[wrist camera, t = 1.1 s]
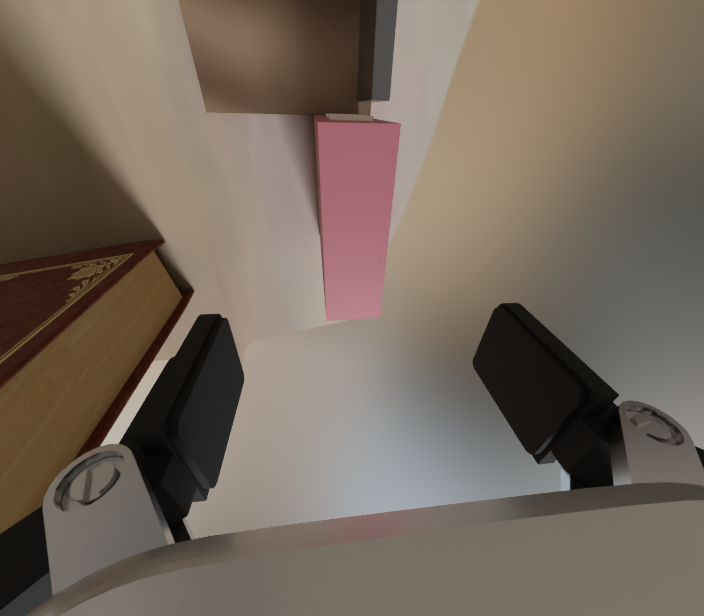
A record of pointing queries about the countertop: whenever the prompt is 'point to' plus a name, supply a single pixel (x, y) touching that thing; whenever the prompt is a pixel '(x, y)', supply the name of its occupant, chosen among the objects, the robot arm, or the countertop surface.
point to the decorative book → (73, 357)
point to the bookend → (376, 49)
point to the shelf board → (276, 55)
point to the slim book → (354, 209)
